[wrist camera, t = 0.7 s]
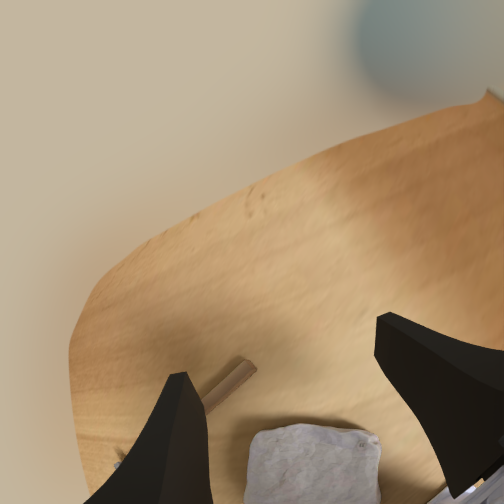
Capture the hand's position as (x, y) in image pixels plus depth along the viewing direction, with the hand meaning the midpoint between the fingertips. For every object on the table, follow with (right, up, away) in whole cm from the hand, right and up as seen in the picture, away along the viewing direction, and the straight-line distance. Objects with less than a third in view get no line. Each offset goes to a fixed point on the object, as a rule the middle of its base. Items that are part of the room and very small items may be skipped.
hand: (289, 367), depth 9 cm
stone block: (+5, -15, +10) cm, 19 cm away
